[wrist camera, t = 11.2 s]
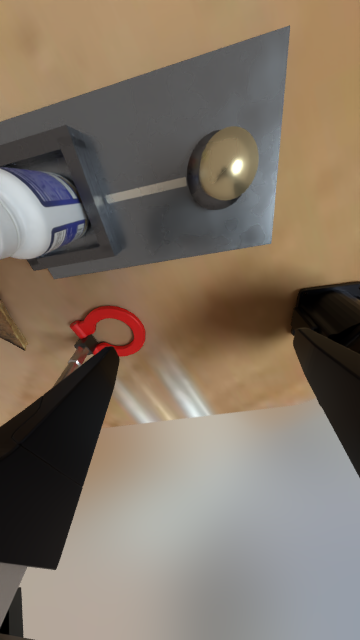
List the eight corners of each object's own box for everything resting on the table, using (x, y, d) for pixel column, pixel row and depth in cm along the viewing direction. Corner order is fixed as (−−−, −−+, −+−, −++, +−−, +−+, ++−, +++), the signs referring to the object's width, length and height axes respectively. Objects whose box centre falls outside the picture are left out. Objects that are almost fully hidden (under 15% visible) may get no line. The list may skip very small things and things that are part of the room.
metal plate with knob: (282, 39, 12) (370, -115, 6) (267, 240, 18) (301, 264, 12) (-18, 136, 15) (-152, 103, 9) (60, 275, 22) (10, 306, 16)
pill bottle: (18, 174, 16) (-136, 160, 8) (78, 170, 15) (-30, 152, 8) (47, 241, 19) (-49, 274, 11) (97, 239, 18) (32, 273, 11)
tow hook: (128, 295, 24) (68, 316, 25) (81, 382, 13) (-16, 405, 15) (155, 343, 28) (102, 357, 30) (137, 436, 17) (57, 449, 19)
